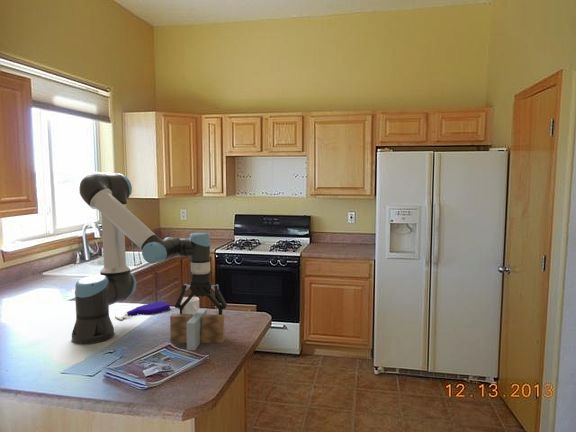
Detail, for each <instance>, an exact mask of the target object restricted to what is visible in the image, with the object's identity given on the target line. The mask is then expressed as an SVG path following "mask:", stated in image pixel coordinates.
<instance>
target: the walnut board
mask: <svg viewBox="0 0 576 432" xmlns="http://www.w3.org/2000/svg"><path fill="white" fill-rule="evenodd" d="M192 316H193V314H179V313H172V314H171V315H170V316H169V317H170V318H169V319H170V321H169V322H170V342H171V343H187V326H186V323H187V322H188V321H189V320H190V319H191V318H192ZM224 342H225V314H222V315H217V314H208V313H207V314H204V315H203V316H202V328H201V329H200V344H202V343H203V344H205V343H206V344H223V343H224Z"/></svg>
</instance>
